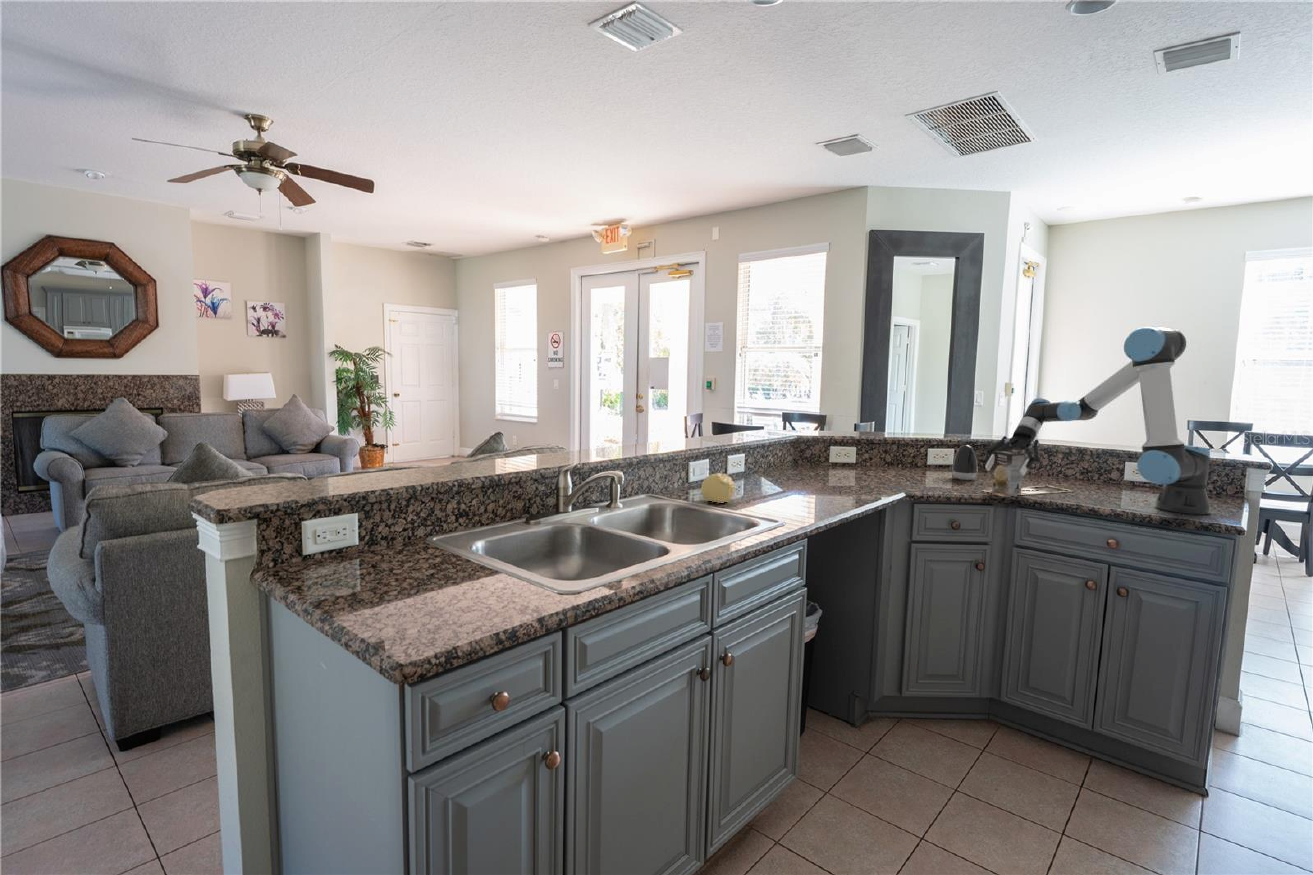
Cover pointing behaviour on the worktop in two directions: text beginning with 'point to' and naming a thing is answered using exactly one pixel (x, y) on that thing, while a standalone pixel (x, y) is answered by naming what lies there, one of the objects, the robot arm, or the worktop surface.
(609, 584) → the worktop surface
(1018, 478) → the coffee box
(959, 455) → the dark grey dome speaker
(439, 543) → the worktop surface
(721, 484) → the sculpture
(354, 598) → the worktop surface
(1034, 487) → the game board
